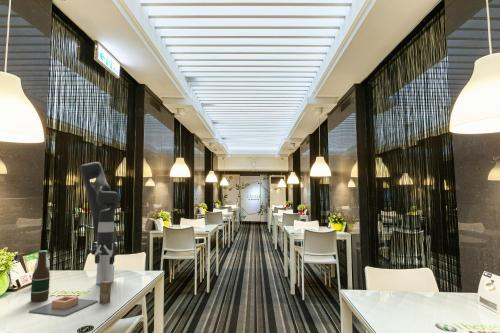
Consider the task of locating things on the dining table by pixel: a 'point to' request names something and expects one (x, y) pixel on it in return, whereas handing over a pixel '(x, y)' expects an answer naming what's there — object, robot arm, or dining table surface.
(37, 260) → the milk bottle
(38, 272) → the beer bottle
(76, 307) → the socket holder
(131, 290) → the dining table surface
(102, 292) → the walnut peg
